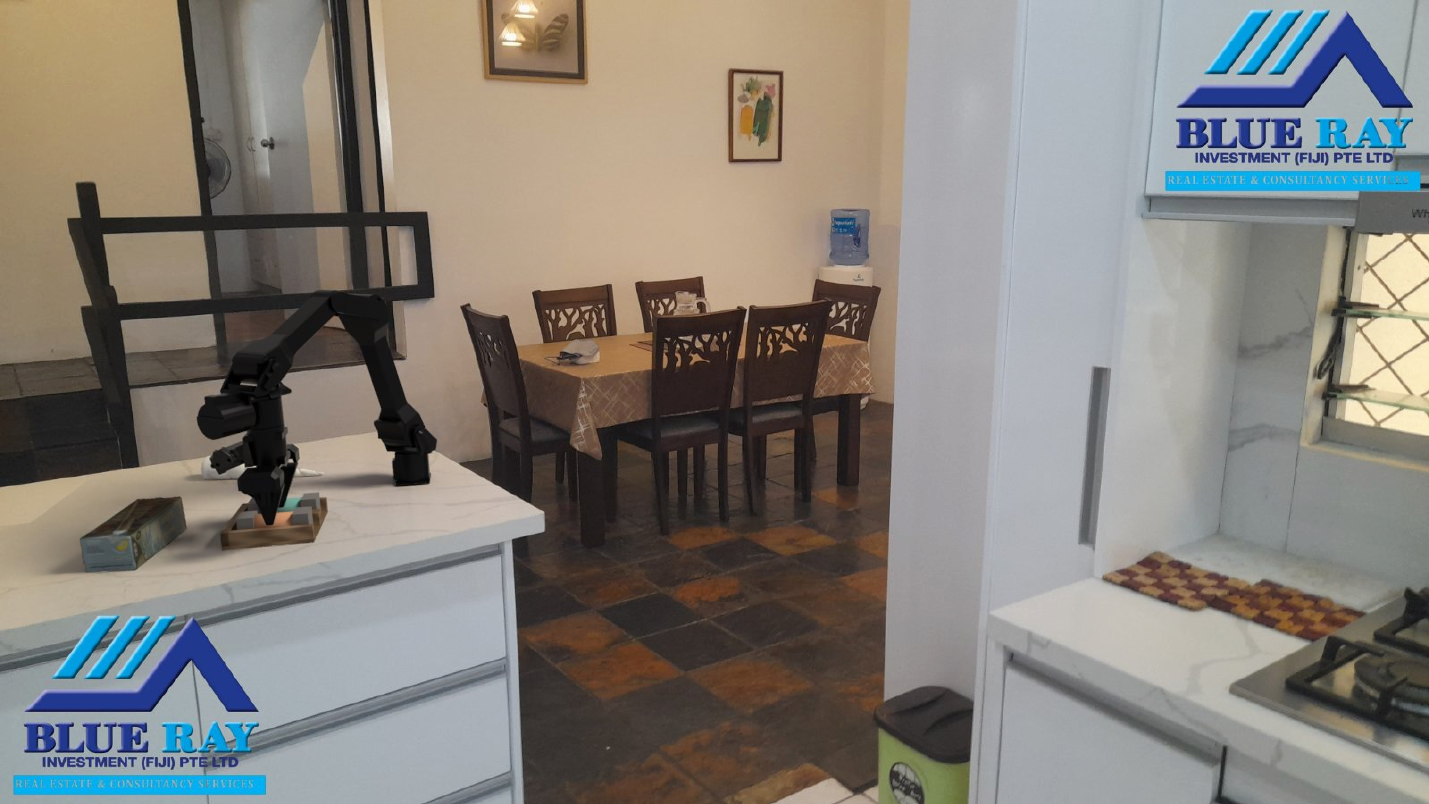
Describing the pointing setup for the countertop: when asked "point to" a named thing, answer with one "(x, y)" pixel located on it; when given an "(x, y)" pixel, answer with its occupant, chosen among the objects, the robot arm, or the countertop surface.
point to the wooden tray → (272, 531)
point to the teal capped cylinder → (293, 503)
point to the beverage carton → (133, 535)
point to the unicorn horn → (237, 471)
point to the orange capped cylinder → (282, 519)
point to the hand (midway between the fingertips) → (275, 516)
